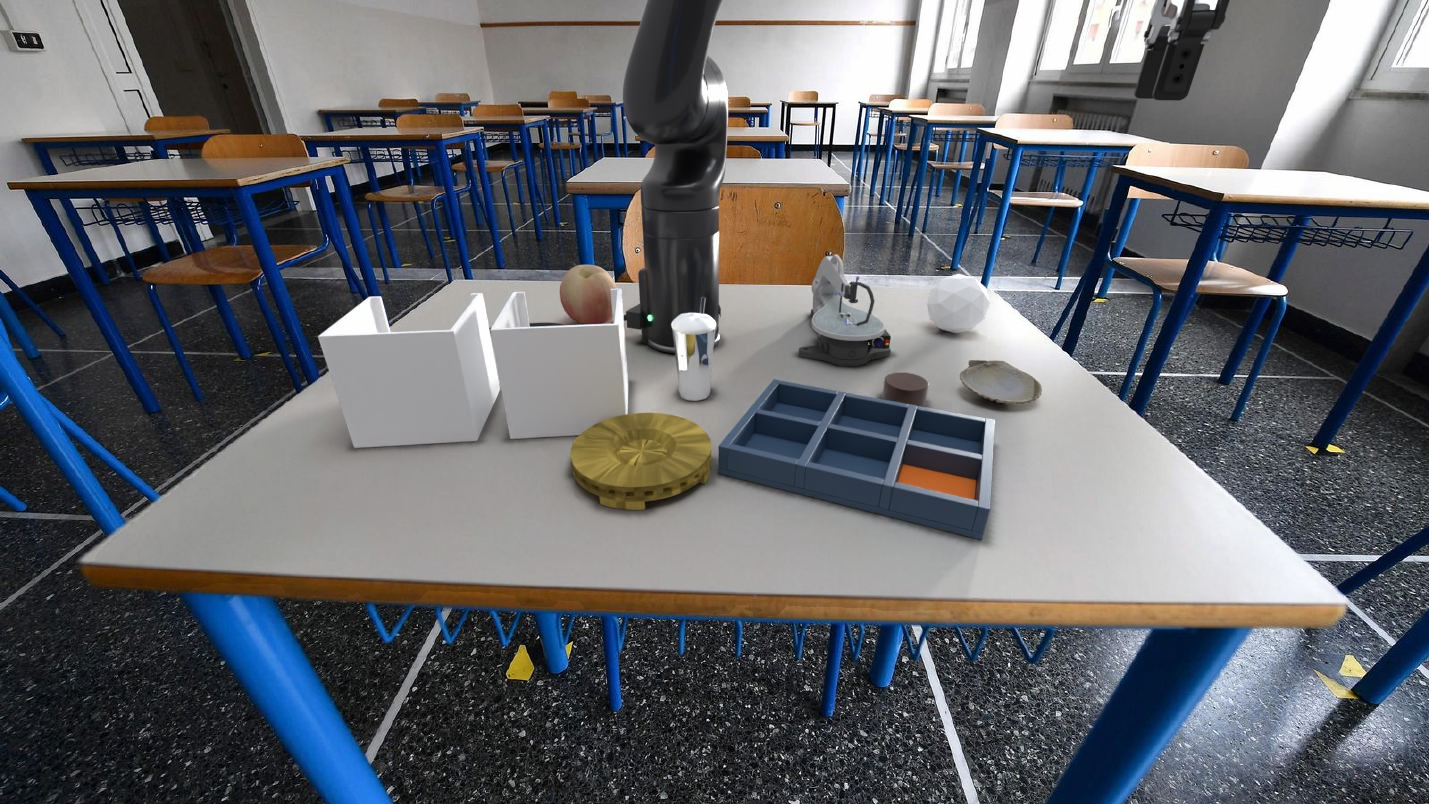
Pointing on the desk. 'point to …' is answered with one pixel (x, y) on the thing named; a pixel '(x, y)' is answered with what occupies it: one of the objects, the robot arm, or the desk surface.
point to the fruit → (587, 294)
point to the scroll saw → (843, 320)
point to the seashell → (1000, 382)
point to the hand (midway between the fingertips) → (1157, 99)
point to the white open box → (474, 375)
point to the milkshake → (694, 353)
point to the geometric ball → (958, 303)
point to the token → (905, 388)
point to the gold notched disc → (641, 458)
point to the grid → (867, 455)
